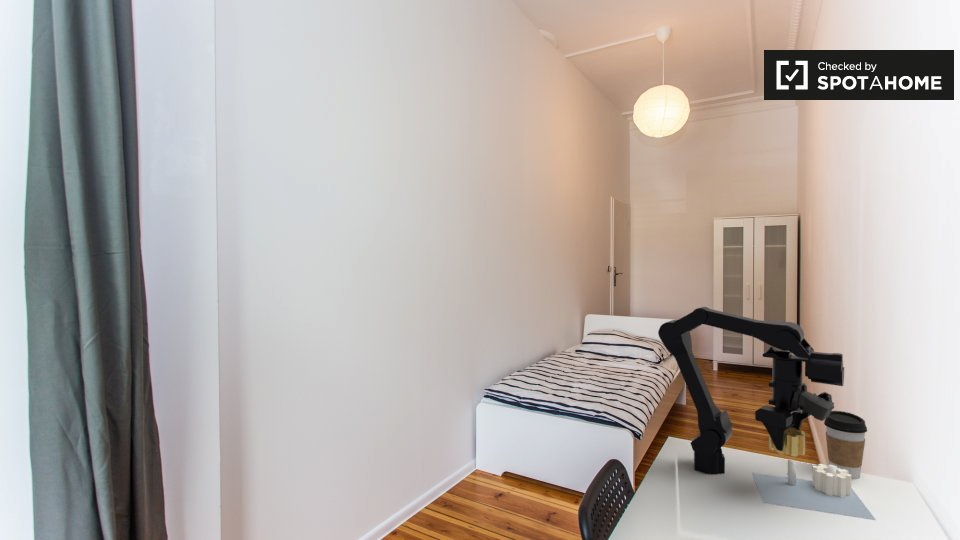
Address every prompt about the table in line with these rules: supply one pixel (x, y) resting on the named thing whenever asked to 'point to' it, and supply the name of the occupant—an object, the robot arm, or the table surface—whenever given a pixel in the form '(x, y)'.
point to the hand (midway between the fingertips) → (786, 446)
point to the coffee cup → (845, 441)
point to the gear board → (807, 494)
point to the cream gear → (832, 481)
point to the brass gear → (791, 443)
